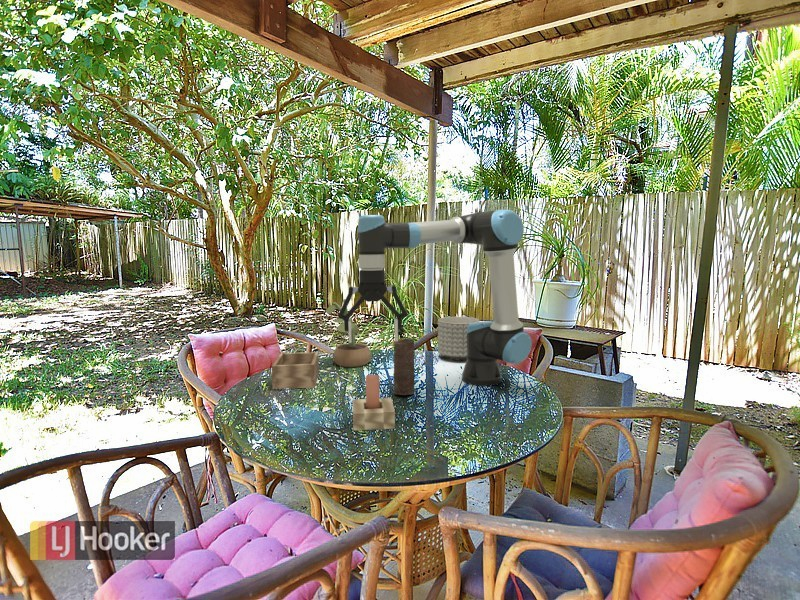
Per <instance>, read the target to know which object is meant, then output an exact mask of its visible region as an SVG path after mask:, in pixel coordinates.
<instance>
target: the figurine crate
mask: <svg viewBox="0 0 800 600" xmlns="http://www.w3.org/2000/svg"><path fill="white" fill-rule="evenodd" d="M319 365H320V364H319V352H318V351H317V352H293V353H292V352H290V353H289V352H287V353H286V352H284V353H282V352H281V353H279V355H278V356H277V358H276V359H275V360H274V362H273V364H272V365H271V382H272V383H271V384H272V385H271V386H272V389H273V388H307V389H315V388H316V386H317V381H318V378H319V375H318V374H320V371H319V369H320V368H319V367H320V366H319Z"/></svg>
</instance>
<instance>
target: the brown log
mask: <svg viewBox="0 0 800 600" xmlns="http://www.w3.org/2000/svg"><path fill="white" fill-rule="evenodd" d="M393 393H394V394H395V395H398V396H408V395H414V394H415V339H414V338H398V341H395V340H394V341H393Z"/></svg>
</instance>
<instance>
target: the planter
mask: <svg viewBox="0 0 800 600" xmlns="http://www.w3.org/2000/svg"><path fill="white" fill-rule="evenodd" d="M474 322H480V319H479V318H476V317H471V316H445V317H440V318H438V320H437V325H438V326H437V352H438V354H440V355H443V356H444V357H445V358H448V359H451V360H453V361H464V360H467V327H468V325H469V324H470V323H474Z"/></svg>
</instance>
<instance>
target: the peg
mask: <svg viewBox="0 0 800 600" xmlns="http://www.w3.org/2000/svg"><path fill="white" fill-rule="evenodd" d="M380 394H381V393H380V375H379V374H367V375H366V376H365V399H366V409H379V408H380V398H381V397H380V396H381V395H380Z"/></svg>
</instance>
